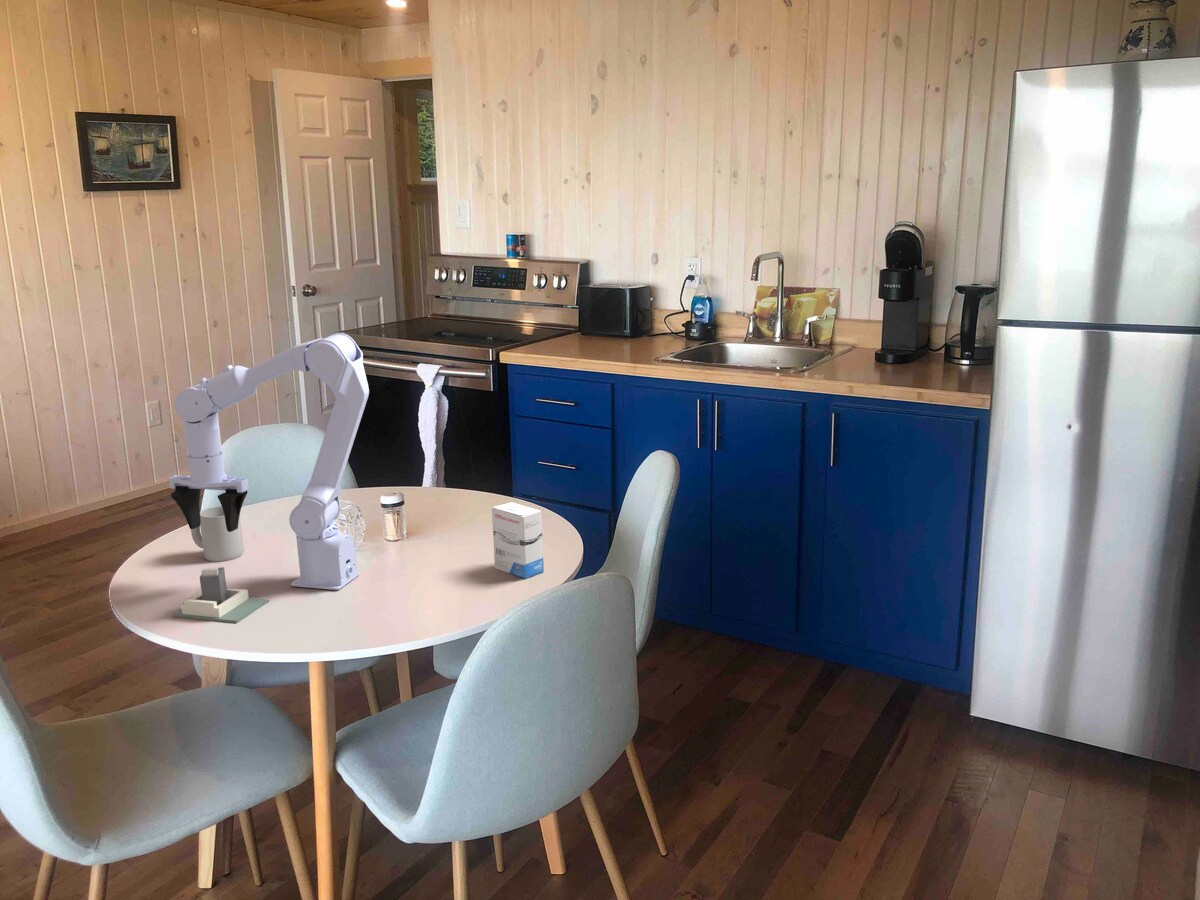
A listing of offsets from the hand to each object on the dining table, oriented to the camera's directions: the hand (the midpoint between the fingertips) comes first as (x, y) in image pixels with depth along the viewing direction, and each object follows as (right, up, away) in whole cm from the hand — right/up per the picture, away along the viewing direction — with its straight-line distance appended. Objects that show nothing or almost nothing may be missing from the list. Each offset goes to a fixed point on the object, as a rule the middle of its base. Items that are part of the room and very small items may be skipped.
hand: (213, 528), depth 171 cm
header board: (+5, -13, -10) cm, 17 cm away
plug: (+4, -12, -10) cm, 16 cm away
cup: (-6, -7, +16) cm, 18 cm away
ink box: (+54, -8, +5) cm, 54 cm away
